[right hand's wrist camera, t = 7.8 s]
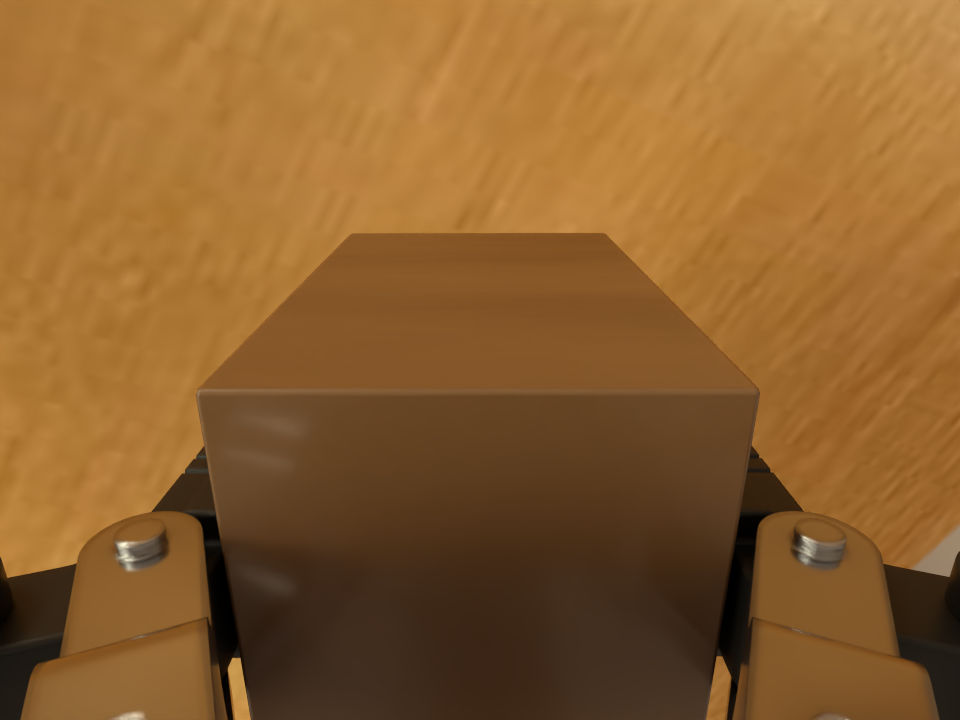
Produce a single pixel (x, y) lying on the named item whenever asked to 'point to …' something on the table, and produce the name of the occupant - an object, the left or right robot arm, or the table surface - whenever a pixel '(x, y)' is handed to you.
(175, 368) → the table surface
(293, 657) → the bar
